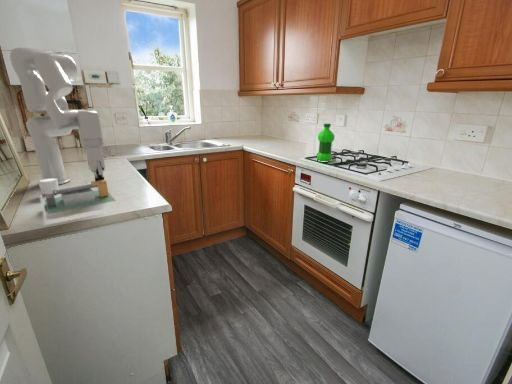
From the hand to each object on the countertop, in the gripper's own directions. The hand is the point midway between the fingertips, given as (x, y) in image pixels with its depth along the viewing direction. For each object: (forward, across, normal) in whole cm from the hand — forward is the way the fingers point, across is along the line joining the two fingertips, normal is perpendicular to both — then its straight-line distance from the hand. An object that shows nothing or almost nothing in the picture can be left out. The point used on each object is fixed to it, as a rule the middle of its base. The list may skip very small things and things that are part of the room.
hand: (100, 186), depth 117 cm
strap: (-1, +4, -9) cm, 10 cm away
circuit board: (+5, +4, -9) cm, 10 cm away
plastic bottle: (+5, +14, +131) cm, 132 cm away
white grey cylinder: (+5, -16, -17) cm, 24 cm away
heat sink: (+3, +3, -12) cm, 13 cm away
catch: (+3, +4, -1) cm, 5 cm away
